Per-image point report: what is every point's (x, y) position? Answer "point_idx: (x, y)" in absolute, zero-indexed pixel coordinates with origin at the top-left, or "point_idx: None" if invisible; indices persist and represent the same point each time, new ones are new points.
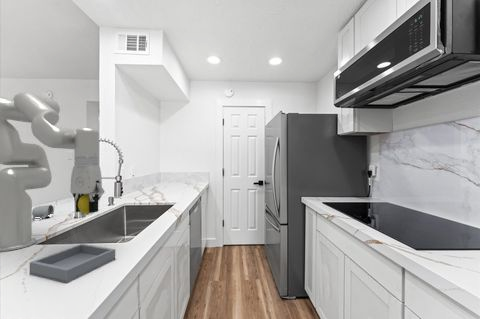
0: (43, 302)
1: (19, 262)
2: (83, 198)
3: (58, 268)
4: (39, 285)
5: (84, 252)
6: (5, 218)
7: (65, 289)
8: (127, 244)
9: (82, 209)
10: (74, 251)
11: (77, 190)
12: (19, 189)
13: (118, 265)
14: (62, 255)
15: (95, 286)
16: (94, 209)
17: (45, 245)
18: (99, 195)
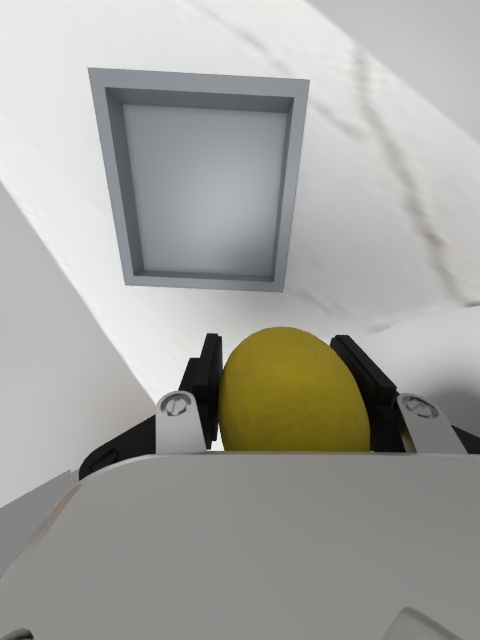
0: None
1: (425, 165)
2: (278, 404)
3: (136, 71)
4: (179, 45)
5: (256, 276)
6: None
7: (72, 54)
8: None
9: (265, 330)
10: (274, 255)
11: (437, 514)
12: None
13: (92, 246)
14: (279, 212)
15: (12, 107)
16: (191, 362)
17: (459, 300)
18: (63, 476)
